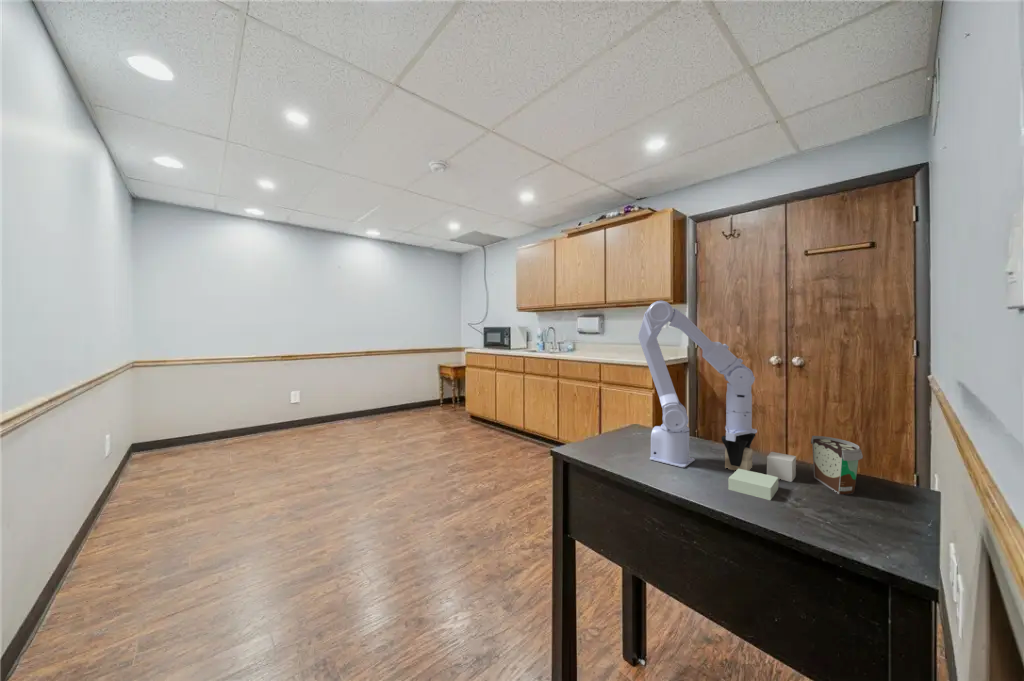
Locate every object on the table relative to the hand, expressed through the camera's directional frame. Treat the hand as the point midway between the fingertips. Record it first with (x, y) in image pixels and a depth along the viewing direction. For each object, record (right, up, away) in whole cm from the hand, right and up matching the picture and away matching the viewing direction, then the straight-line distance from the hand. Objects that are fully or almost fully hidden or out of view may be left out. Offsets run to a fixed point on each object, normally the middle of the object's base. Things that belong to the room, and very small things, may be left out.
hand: (738, 462), depth 98 cm
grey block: (+7, -2, -6) cm, 9 cm away
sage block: (-4, -2, -13) cm, 14 cm away
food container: (+16, -2, -12) cm, 20 cm away
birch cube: (0, -1, 0) cm, 1 cm away
